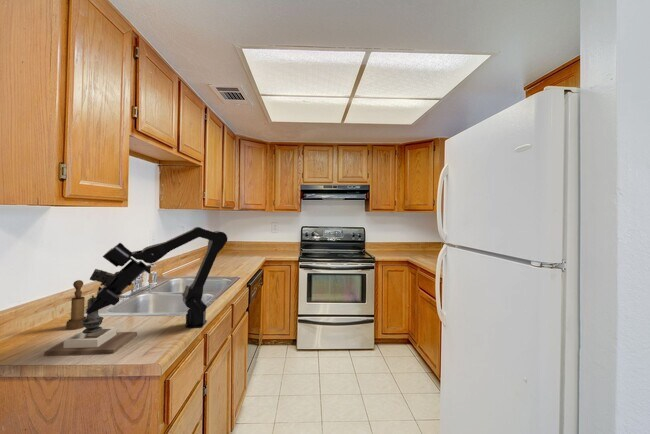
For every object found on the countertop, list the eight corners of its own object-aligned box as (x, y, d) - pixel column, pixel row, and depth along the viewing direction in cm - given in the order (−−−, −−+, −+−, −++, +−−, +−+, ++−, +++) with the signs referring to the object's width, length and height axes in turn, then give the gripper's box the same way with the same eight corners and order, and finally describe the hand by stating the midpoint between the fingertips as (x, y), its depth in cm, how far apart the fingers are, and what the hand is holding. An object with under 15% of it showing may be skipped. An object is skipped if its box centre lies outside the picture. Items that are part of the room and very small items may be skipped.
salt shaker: (106, 326, 101) (106, 292, 100) (99, 332, 95) (99, 296, 95) (86, 327, 99) (86, 293, 99) (77, 334, 93) (77, 298, 93)
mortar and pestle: (84, 328, 110) (85, 281, 110) (62, 330, 107) (63, 282, 107) (90, 322, 116) (91, 278, 116) (70, 324, 114) (71, 279, 114)
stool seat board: (137, 335, 105) (137, 325, 105) (113, 353, 91) (113, 341, 91) (77, 336, 103) (78, 326, 103) (44, 355, 89) (44, 343, 89)
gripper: (108, 257, 107) (69, 291, 100) (106, 264, 91) (59, 305, 85) (133, 275, 111) (97, 309, 105) (135, 285, 96) (93, 325, 90)
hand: (87, 311), depth 96 cm, fingers closed on salt shaker, 4 cm apart
